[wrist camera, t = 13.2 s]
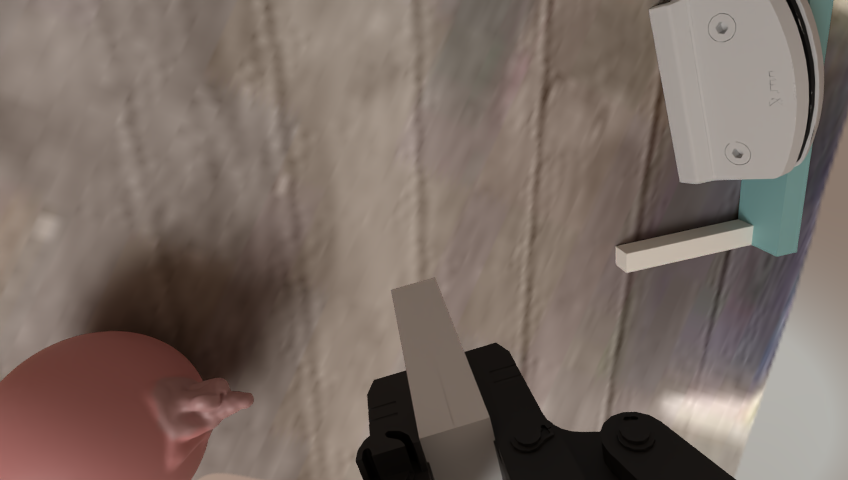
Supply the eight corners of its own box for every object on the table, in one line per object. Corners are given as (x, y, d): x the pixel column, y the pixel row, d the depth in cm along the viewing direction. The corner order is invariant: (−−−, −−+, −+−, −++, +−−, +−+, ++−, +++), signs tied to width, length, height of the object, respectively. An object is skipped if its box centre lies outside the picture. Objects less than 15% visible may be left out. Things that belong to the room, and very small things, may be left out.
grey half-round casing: (647, 4, 40) (781, -30, 31) (685, -15, 41) (822, -53, 32) (680, 186, 46) (798, 200, 38) (711, 163, 48) (832, 172, 39)
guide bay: (612, -29, 38) (648, -40, 34) (786, -59, 40) (844, -73, 35) (615, 264, 48) (644, 286, 44) (754, 233, 49) (796, 252, 45)
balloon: (297, 400, 48) (278, 545, 34) (95, 455, 47) (-12, 629, 33) (243, 264, 42) (194, 371, 28) (10, 323, 41) (-165, 466, 27)
